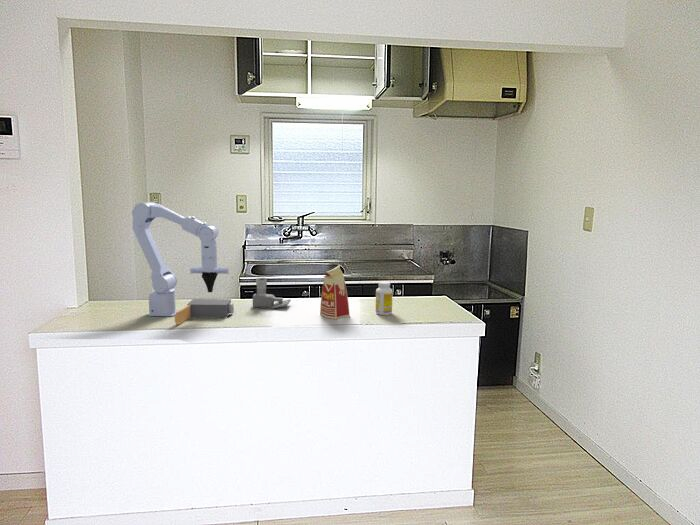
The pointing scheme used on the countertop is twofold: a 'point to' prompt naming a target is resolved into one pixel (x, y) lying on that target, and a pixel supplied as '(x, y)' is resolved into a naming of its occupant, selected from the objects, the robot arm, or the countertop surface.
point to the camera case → (211, 307)
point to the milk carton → (334, 295)
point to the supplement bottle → (384, 298)
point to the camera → (266, 296)
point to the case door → (183, 315)
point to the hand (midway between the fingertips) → (210, 291)
